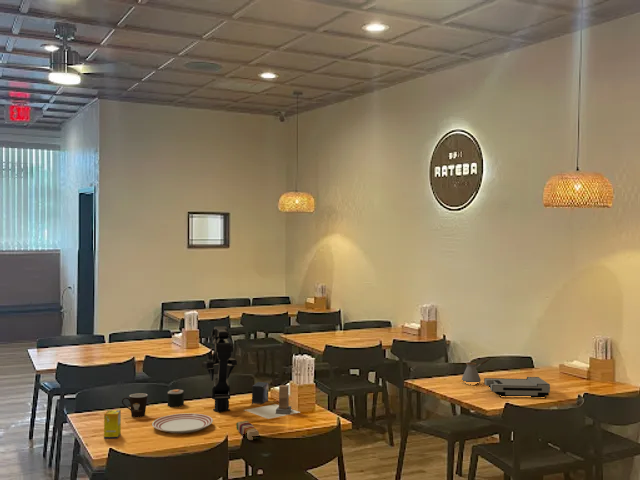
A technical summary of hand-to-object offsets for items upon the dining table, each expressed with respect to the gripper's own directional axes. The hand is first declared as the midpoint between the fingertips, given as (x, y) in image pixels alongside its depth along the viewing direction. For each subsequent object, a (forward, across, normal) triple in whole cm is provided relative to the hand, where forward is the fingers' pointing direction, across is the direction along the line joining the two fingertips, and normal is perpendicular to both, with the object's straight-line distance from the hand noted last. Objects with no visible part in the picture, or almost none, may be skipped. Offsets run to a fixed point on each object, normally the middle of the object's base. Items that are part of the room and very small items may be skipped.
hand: (219, 379), depth 341 cm
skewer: (+13, +18, +54) cm, 59 cm away
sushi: (+13, +19, -12) cm, 26 cm away
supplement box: (+13, +67, +21) cm, 71 cm away
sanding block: (+12, -15, +37) cm, 42 cm away
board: (+13, -11, +32) cm, 37 cm away
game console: (+14, -148, +83) cm, 171 cm away
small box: (+13, -18, +12) cm, 25 cm away
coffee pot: (+13, -154, +52) cm, 163 cm away
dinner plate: (+13, +36, +27) cm, 47 cm away
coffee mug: (+13, +44, -6) cm, 46 cm away
